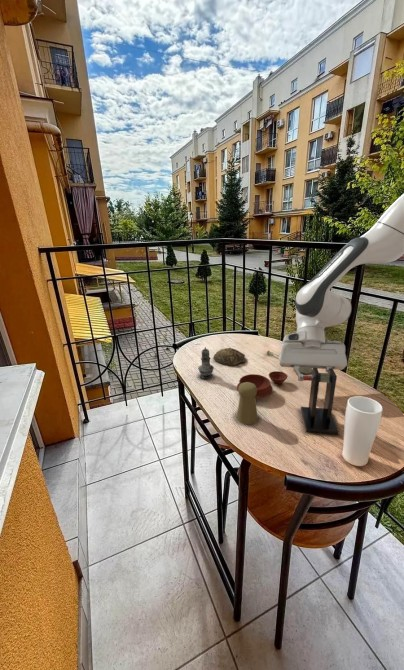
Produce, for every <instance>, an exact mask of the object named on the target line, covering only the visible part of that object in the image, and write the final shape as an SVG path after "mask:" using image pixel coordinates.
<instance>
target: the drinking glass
mask: <svg viewBox="0 0 404 670" xmlns="http://www.w3.org/2000/svg"><path fill="white" fill-rule="evenodd" d="M382 416H383V406H382V404H381V403H380V402H379V401H377V400H375V399H373V398H370V397H367V396H361V395H355V396H351V397H349V398H348V399H347V403H346V406H345V413H344V424H343V426H344V427H343V442H342V443H343V444H342V453H341V454H342V458H343V459H344V461H346V462H347V463H348V464H350V465H352V466H356V467H363V466H366V465H367V464H368V462H369V458H370V455H371V452H372V448H373V446H374V443H375V441H376V440H375V439H376V437H377V435H378V431H379V428H380V425H381V422H382Z"/></svg>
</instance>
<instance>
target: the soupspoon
mask: <svg viewBox="0 0 404 670" xmlns="http://www.w3.org/2000/svg"><path fill="white" fill-rule="evenodd" d="M266 354H267V355H274V356H276V357H280V354H277V353H275V352H272V351H270V350H267V351H266ZM298 371H299V372H300V373H301V374H305V375H310V374H312V371H313V368H299V370H298Z"/></svg>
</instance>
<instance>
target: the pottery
mask: <svg viewBox="0 0 404 670" xmlns="http://www.w3.org/2000/svg"><path fill="white" fill-rule="evenodd" d="M287 380H288V374H287V373H285V372H284V371H280V370H279V371H271V372H269V373H268V377H266V376H265V375H262V374H256V373H253V374H252V373H251V374H246V375H243V376H241V377H240V378H239V380H238V383H237V385H236V391H238V388H239V386H240V384H241V383H244V382H250V383H253V384H255V386H256V387H257V394H256V395H255V399H261V398H266V397H268V396H270V395H271V394H272V393H273V390H274V388H273V385H275V386H281V385H282V384H283V383H284V382H285V381H287ZM271 381H272V383H273V385H272V383H271Z"/></svg>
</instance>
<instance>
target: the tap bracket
mask: <svg viewBox="0 0 404 670" xmlns="http://www.w3.org/2000/svg"><path fill="white" fill-rule="evenodd" d="M319 373H320V372H319V370H318V369H317V368H314V367H313V368H312V372H311V375H310V376H311V379H312V381H310V390H309V398H308V399H309V400H308V406H300V412H301V413H300V414H301V417H302V421H303V425H304V430H305V433H311V434H322V435H331V436H332V435H333V436H334V435H335V436H338V435H339V429H338V426H337V424H336V421H335V419H334V416H333V414H332V413H333V407H334V398H335V391H336V384H337V380H338V378H337V375H336V372H335V369H333V368H329V370H328V373H329V379H330V382H329V383H326V386H325V393H324V401H323V407H317V404H318V403H317V402H318V396H319V386H320V382H319V380H320V374H319Z"/></svg>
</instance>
